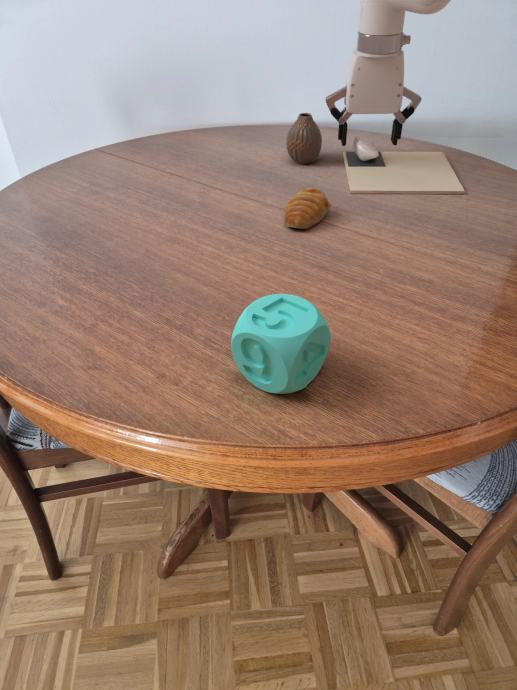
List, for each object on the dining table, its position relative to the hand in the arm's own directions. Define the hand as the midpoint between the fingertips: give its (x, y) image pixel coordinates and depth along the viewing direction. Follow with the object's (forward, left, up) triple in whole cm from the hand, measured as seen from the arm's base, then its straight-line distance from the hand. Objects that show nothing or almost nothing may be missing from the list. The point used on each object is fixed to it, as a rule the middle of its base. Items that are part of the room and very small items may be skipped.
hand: (368, 143), depth 104 cm
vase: (+12, -1, -4) cm, 13 cm away
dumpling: (0, 0, -3) cm, 3 cm away
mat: (-6, +5, -4) cm, 8 cm away
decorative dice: (+16, +60, -4) cm, 62 cm away
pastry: (+12, +23, -4) cm, 26 cm away
